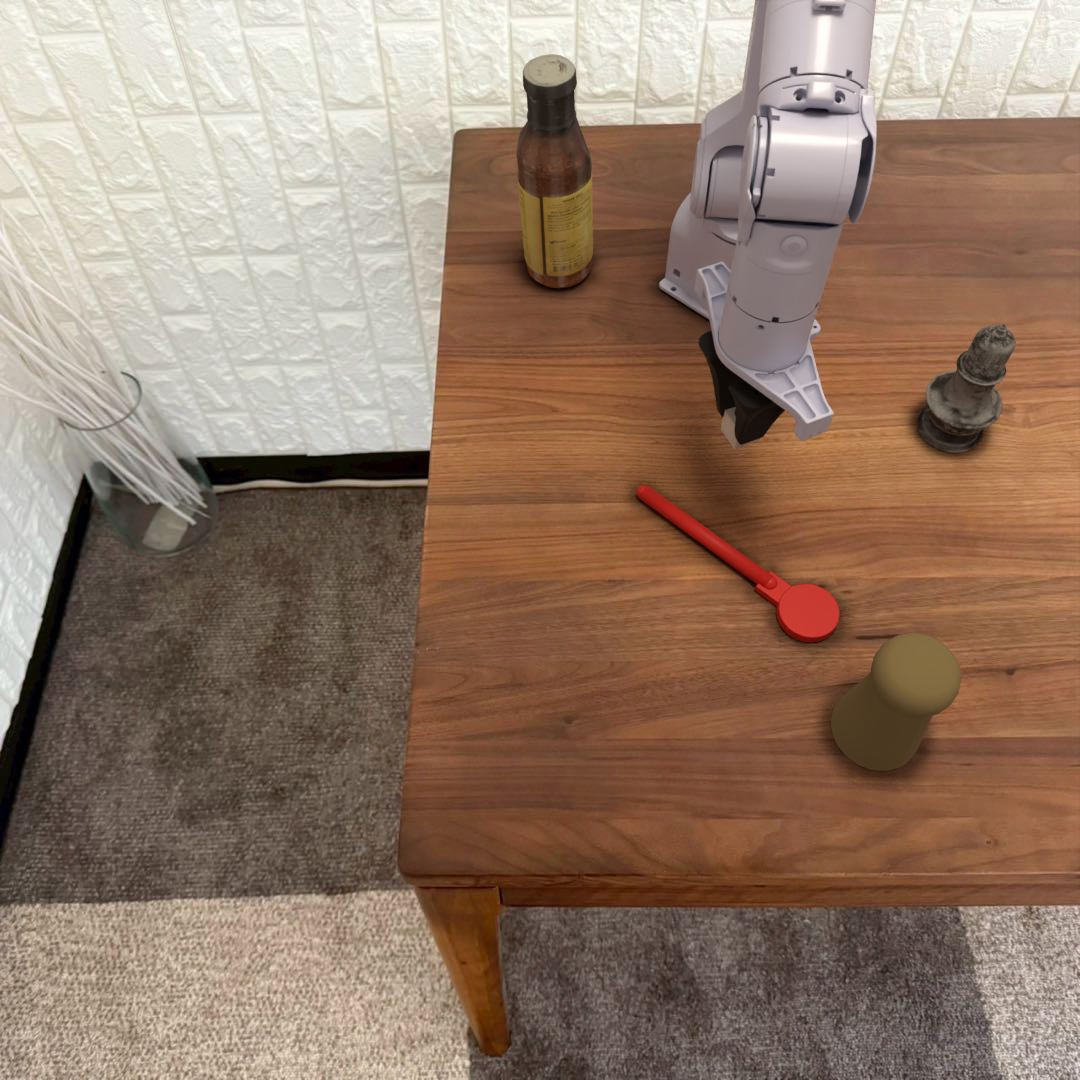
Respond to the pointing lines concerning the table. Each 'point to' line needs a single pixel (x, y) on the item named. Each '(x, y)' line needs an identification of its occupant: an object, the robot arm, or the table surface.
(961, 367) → the chess piece
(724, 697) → the table surface
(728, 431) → the cube with dark pebbles
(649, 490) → the spoon
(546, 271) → the sauce bottle
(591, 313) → the table surface
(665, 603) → the table surface
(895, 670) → the cork
